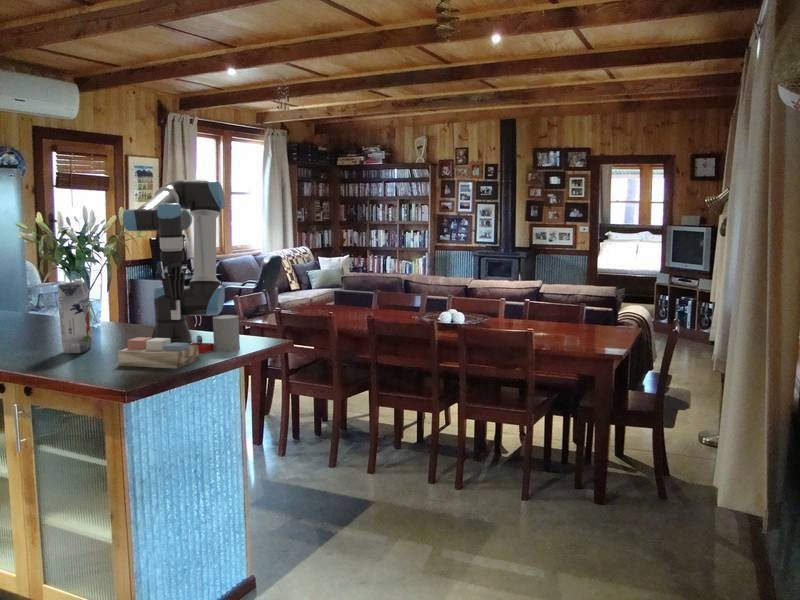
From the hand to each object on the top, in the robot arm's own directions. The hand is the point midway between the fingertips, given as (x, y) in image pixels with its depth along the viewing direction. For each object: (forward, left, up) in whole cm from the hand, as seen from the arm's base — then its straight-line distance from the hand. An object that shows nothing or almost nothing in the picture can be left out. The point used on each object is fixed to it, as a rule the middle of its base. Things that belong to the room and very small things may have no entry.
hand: (176, 319), depth 239 cm
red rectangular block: (-20, -3, -16) cm, 25 cm away
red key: (0, -14, -10) cm, 17 cm away
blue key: (0, 0, -12) cm, 12 cm away
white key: (0, -7, -10) cm, 12 cm away
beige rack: (0, -7, -15) cm, 17 cm away
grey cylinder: (-26, +5, -15) cm, 30 cm away
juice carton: (-12, -49, -15) cm, 53 cm away
